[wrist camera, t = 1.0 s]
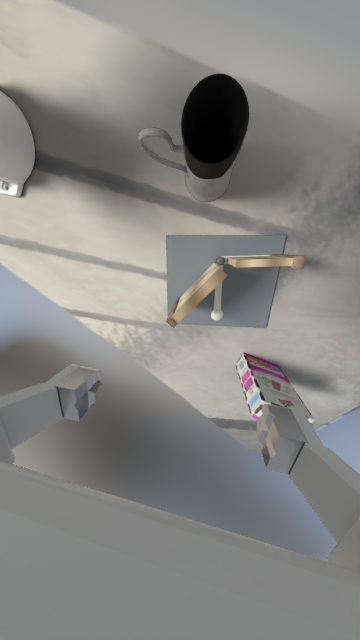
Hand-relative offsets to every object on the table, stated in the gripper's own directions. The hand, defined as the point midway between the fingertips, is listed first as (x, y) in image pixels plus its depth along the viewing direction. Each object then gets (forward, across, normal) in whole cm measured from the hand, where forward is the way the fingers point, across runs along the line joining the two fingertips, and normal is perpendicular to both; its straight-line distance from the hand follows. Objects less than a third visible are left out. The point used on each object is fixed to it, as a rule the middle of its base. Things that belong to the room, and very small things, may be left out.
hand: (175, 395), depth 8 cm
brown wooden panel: (+34, +2, -1) cm, 34 cm away
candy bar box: (+38, -17, +20) cm, 46 cm away
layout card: (+36, -3, -1) cm, 36 cm away
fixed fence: (+35, -8, -7) cm, 37 cm away
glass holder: (+34, +5, -22) cm, 41 cm away
